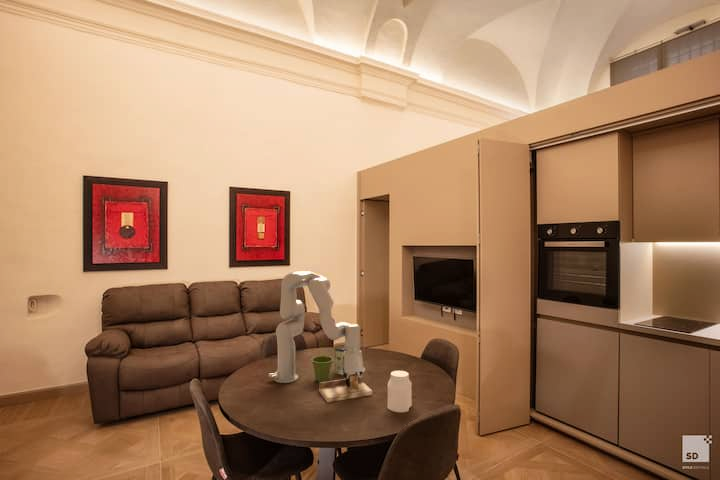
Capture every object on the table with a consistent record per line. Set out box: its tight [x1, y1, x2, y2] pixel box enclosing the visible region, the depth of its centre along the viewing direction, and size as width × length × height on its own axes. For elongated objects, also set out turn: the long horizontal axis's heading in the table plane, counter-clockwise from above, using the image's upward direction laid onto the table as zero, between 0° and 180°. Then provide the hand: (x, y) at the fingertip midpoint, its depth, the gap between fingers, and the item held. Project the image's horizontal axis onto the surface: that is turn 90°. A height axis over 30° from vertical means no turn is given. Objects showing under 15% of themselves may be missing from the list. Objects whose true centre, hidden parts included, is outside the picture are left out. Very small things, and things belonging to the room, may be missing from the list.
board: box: [318, 375, 373, 403], centre depth 183 cm, size 23×14×4 cm, turn 112°
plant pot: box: [311, 355, 334, 382], centre depth 201 cm, size 12×12×11 cm
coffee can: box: [334, 344, 345, 375], centre depth 214 cm, size 10×10×14 cm
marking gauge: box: [349, 373, 359, 390], centre depth 184 cm, size 4×11×6 cm, turn 22°
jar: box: [387, 370, 413, 413], centre depth 167 cm, size 12×10×15 cm
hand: (352, 384), depth 186 cm, fingers closed on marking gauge, 4 cm apart
